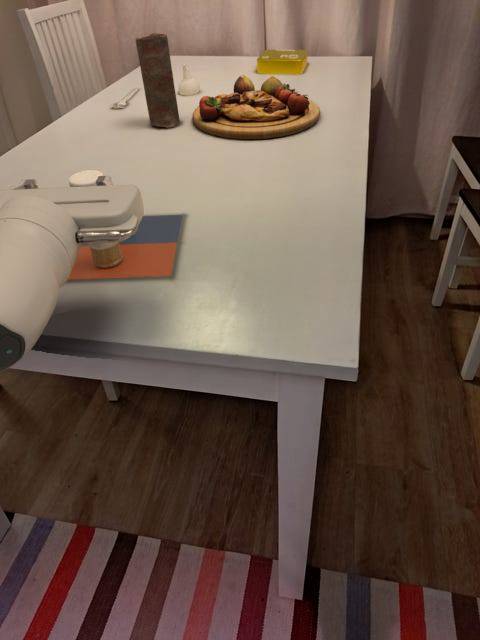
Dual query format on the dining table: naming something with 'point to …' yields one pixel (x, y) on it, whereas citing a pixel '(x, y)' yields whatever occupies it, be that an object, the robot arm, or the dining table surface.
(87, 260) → the sorting board
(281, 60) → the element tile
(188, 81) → the garlic bulb
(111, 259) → the sprinkles bottle
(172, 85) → the brown rough pillar
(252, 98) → the wooden plate
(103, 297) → the dining table surface
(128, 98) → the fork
